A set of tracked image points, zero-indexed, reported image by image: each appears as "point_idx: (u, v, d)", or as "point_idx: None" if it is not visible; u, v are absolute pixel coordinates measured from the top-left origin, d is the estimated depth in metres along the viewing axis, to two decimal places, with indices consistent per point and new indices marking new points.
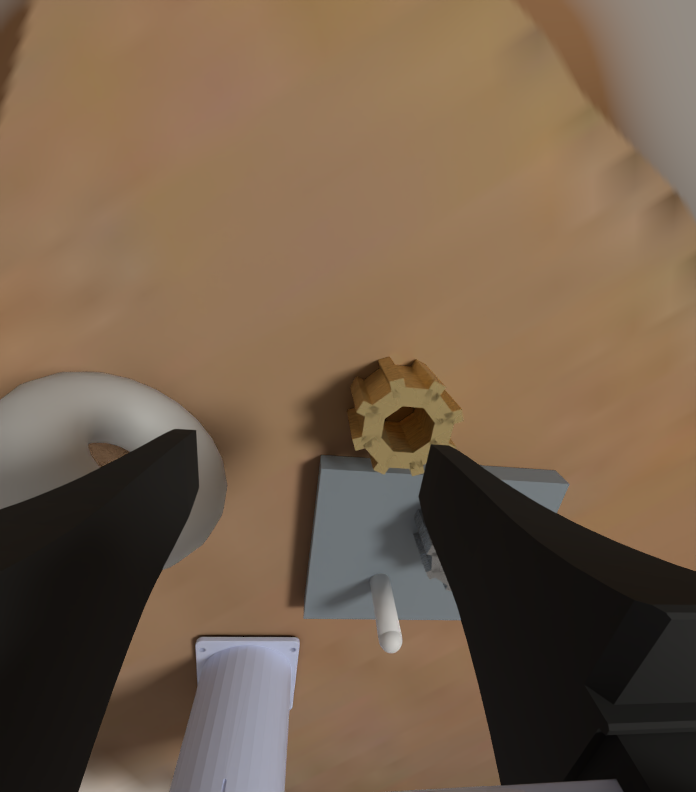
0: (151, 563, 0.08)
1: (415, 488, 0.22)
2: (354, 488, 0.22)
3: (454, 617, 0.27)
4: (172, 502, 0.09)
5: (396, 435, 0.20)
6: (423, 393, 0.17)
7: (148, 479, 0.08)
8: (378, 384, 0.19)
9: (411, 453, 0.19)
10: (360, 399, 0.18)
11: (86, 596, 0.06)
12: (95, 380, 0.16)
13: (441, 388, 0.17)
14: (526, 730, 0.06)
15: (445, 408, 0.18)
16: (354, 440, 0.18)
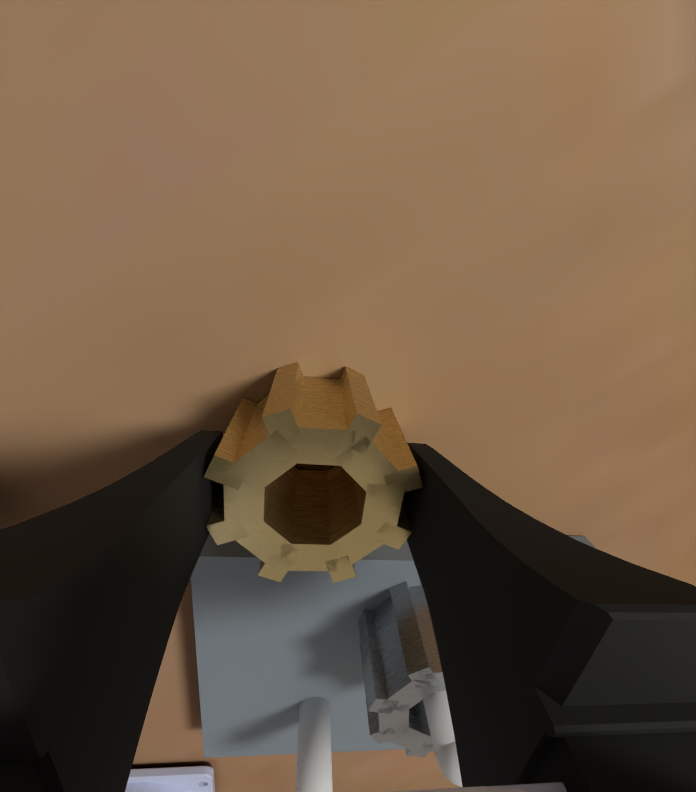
0: (185, 564, 0.08)
1: (356, 579, 0.13)
2: (252, 583, 0.13)
3: None
4: (203, 503, 0.09)
5: (312, 501, 0.11)
6: (337, 438, 0.09)
7: (184, 481, 0.08)
8: None
9: (327, 545, 0.10)
10: (217, 448, 0.09)
11: (135, 596, 0.06)
12: None
13: (372, 428, 0.08)
14: (484, 732, 0.06)
15: (385, 465, 0.09)
16: (211, 527, 0.09)
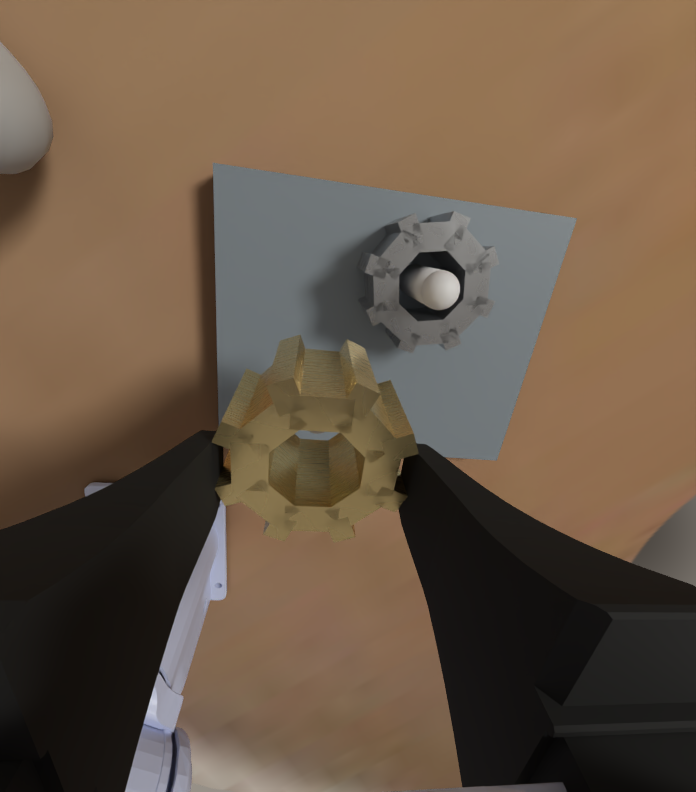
0: (185, 564, 0.08)
1: (355, 211, 0.15)
2: (266, 206, 0.15)
3: None
4: (203, 503, 0.09)
5: (313, 468, 0.12)
6: (337, 406, 0.09)
7: (184, 481, 0.08)
8: None
9: (328, 507, 0.11)
10: (223, 416, 0.09)
11: (135, 596, 0.06)
12: None
13: (371, 397, 0.09)
14: (484, 732, 0.06)
15: (383, 432, 0.09)
16: (219, 489, 0.10)
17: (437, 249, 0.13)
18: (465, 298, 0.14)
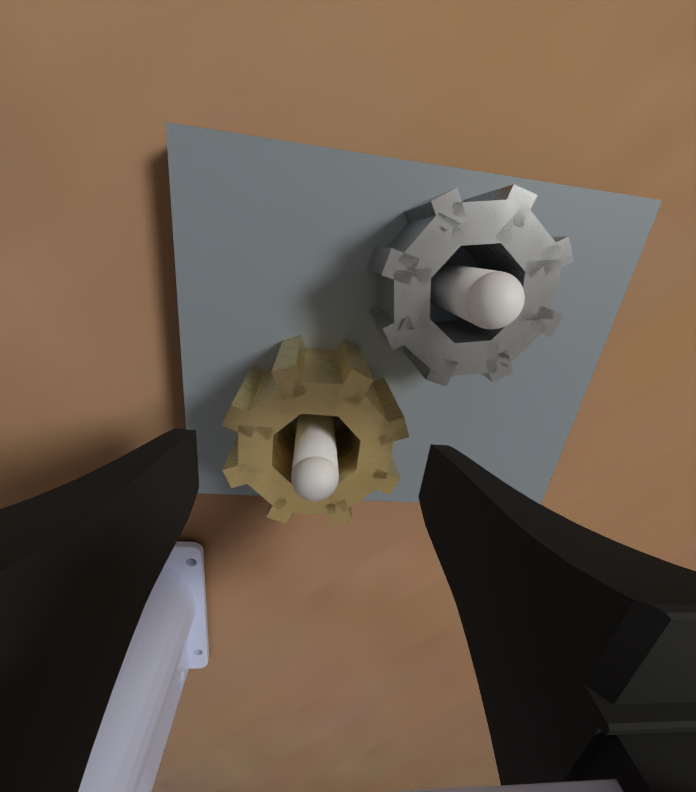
0: (151, 563, 0.08)
1: (365, 191, 0.11)
2: (242, 184, 0.11)
3: None
4: (172, 502, 0.09)
5: None
6: (335, 391, 0.10)
7: (148, 479, 0.08)
8: (272, 377, 0.11)
9: None
10: (232, 402, 0.10)
11: (86, 596, 0.06)
12: None
13: (365, 382, 0.10)
14: (526, 730, 0.06)
15: (376, 416, 0.10)
16: (226, 471, 0.11)
17: (486, 241, 0.09)
18: (522, 310, 0.10)
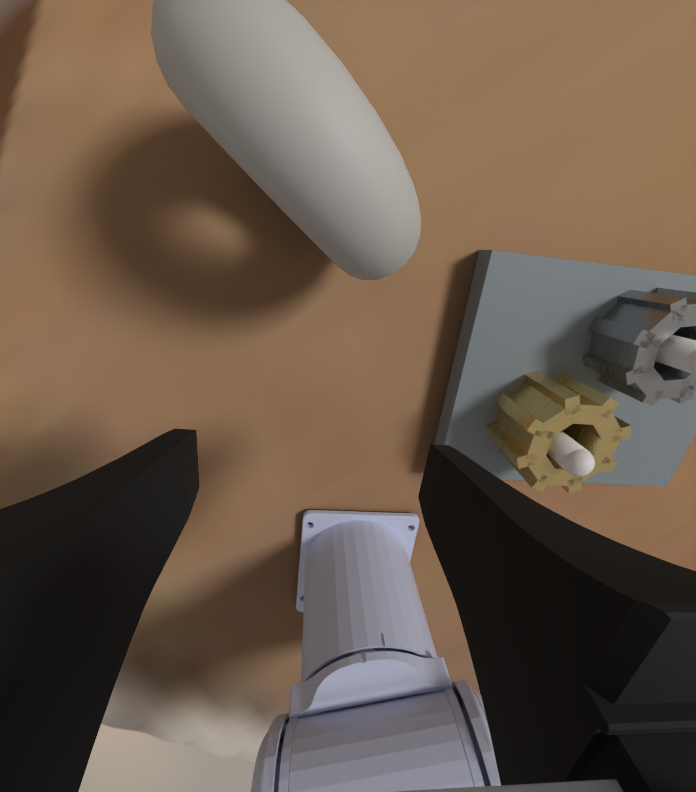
0: (151, 563, 0.08)
1: (596, 285, 0.18)
2: (526, 282, 0.18)
3: (606, 480, 0.23)
4: (172, 502, 0.09)
5: None
6: (596, 410, 0.17)
7: (148, 479, 0.08)
8: (536, 400, 0.18)
9: None
10: (528, 416, 0.17)
11: (86, 596, 0.06)
12: None
13: (615, 405, 0.17)
14: (525, 730, 0.06)
15: (614, 424, 0.17)
16: (519, 458, 0.18)
17: (695, 324, 0.16)
18: None
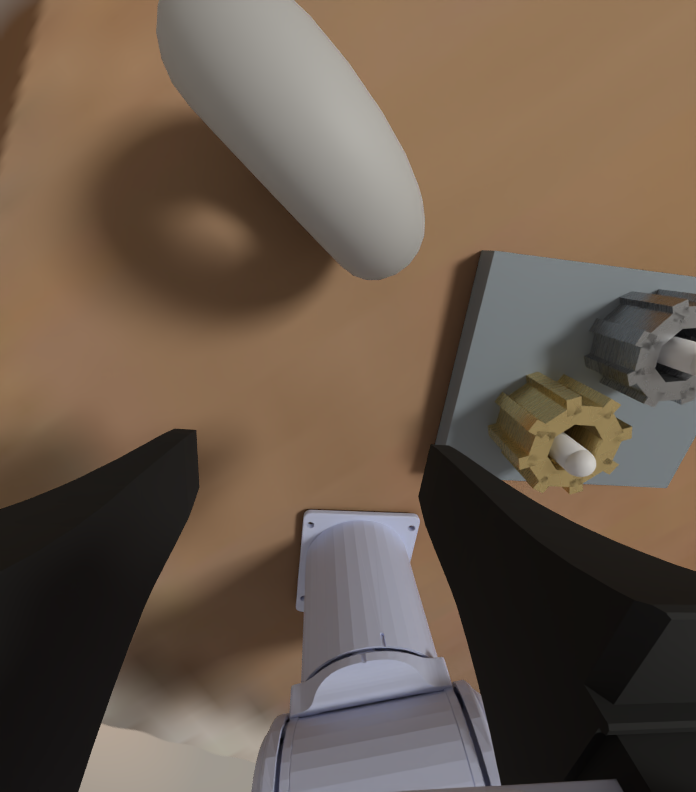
0: (151, 563, 0.08)
1: (598, 286, 0.18)
2: (528, 283, 0.18)
3: (607, 481, 0.23)
4: (172, 502, 0.09)
5: None
6: (597, 411, 0.17)
7: (148, 479, 0.08)
8: (538, 401, 0.18)
9: None
10: (529, 417, 0.17)
11: (86, 596, 0.06)
12: None
13: (616, 406, 0.17)
14: (526, 730, 0.06)
15: (616, 426, 0.17)
16: (520, 459, 0.18)
17: None
18: None
